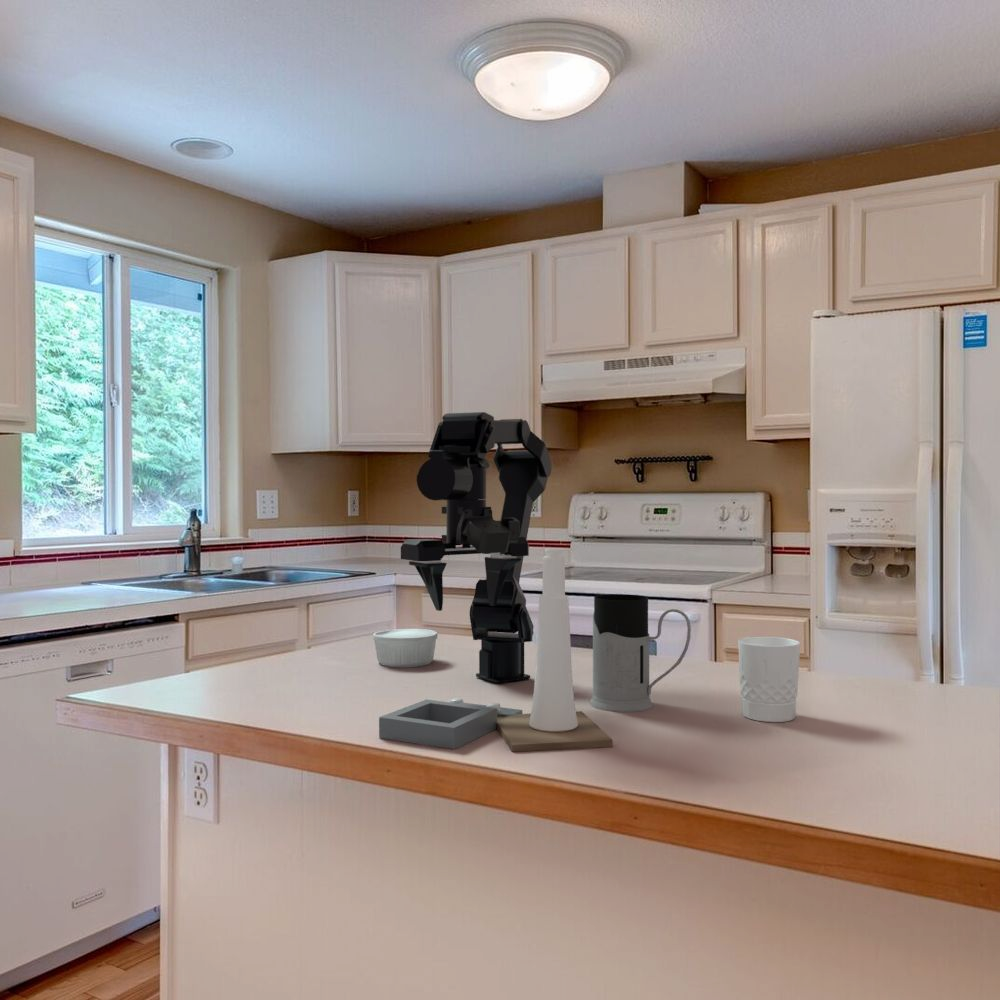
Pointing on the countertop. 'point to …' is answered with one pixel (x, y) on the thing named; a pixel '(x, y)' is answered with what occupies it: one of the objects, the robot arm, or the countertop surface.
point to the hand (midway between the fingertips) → (466, 608)
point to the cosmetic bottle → (553, 652)
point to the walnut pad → (550, 734)
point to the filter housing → (442, 722)
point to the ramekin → (405, 647)
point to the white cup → (769, 677)
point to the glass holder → (624, 652)
